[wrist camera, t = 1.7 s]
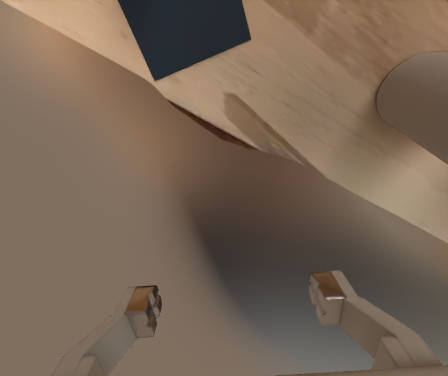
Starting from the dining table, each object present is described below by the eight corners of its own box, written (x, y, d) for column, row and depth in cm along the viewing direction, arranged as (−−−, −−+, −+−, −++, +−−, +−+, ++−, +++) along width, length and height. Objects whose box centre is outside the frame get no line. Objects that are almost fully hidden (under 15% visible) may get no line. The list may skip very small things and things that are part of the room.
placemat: (117, -3, 41) (116, -3, 41) (224, -71, 34) (223, -72, 33) (155, 80, 48) (154, 80, 48) (250, 39, 41) (250, 39, 40)
